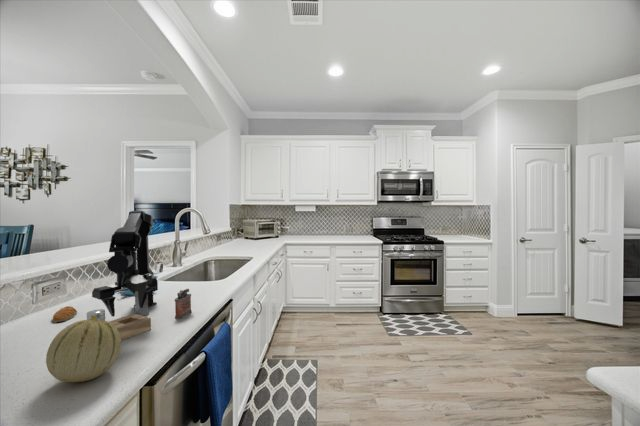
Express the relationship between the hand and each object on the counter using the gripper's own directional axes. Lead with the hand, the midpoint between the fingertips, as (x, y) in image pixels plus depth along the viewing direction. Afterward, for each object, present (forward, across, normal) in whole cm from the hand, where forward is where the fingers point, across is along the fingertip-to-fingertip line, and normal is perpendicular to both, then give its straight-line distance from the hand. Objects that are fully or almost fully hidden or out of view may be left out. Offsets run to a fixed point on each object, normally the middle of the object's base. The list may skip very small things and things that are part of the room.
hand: (127, 311), depth 101 cm
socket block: (+7, 0, 0) cm, 7 cm away
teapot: (+7, +30, +46) cm, 56 cm away
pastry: (+8, -4, +36) cm, 37 cm away
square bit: (+7, +12, +12) cm, 18 cm away
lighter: (+7, +20, -3) cm, 21 cm away
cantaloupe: (+7, -20, -20) cm, 29 cm away
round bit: (+7, -4, +14) cm, 16 cm away
